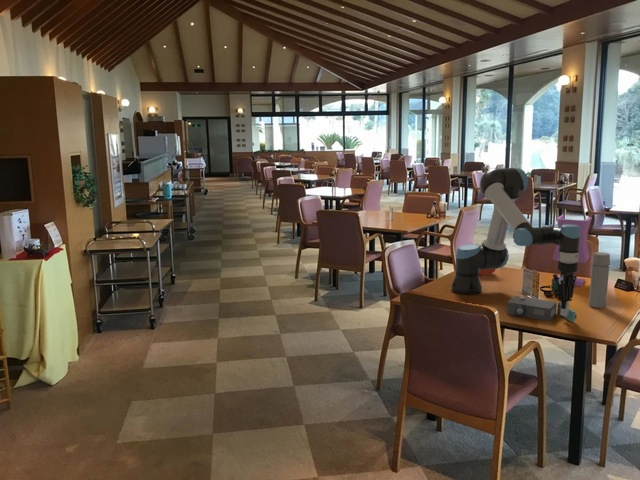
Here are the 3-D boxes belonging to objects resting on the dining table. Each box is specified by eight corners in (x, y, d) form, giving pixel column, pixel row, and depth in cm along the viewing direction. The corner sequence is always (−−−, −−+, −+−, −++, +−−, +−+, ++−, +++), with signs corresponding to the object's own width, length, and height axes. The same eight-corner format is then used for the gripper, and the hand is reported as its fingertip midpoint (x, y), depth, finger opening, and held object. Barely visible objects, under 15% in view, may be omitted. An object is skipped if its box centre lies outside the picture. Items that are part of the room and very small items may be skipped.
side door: (572, 323, 238) (573, 311, 237) (556, 313, 251) (557, 302, 250) (576, 323, 238) (577, 311, 238) (560, 313, 251) (561, 302, 250)
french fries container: (495, 275, 321) (496, 244, 318) (476, 275, 321) (477, 244, 318) (493, 273, 325) (494, 242, 322) (474, 273, 326) (475, 242, 322)
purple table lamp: (587, 281, 306) (592, 217, 300) (582, 287, 293) (588, 221, 287) (556, 277, 315) (560, 215, 308) (551, 283, 302) (555, 218, 295)
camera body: (505, 315, 250) (506, 301, 249) (515, 307, 261) (515, 294, 260) (548, 322, 240) (549, 308, 238) (556, 314, 251) (557, 300, 250)
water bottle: (605, 309, 256) (610, 256, 252) (586, 307, 260) (591, 254, 256) (607, 304, 264) (612, 252, 259) (589, 302, 268) (593, 250, 263)
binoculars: (538, 274, 282) (559, 273, 280) (539, 294, 284) (560, 293, 282) (541, 278, 274) (563, 277, 272) (542, 299, 275) (564, 298, 273)
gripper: (569, 265, 230) (565, 320, 234) (584, 260, 238) (580, 314, 242) (551, 262, 236) (548, 316, 240) (567, 257, 244) (563, 310, 248)
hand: (564, 315), depth 241 cm, fingers closed
